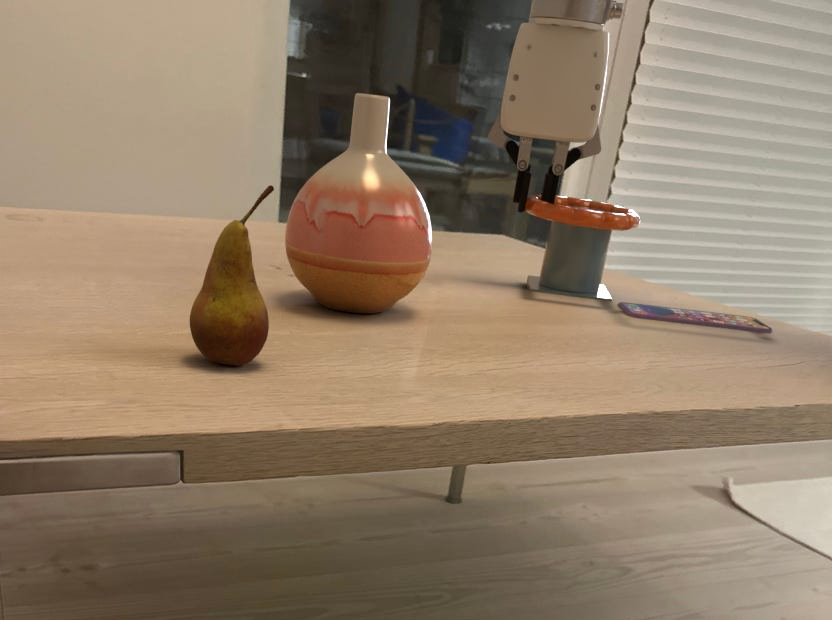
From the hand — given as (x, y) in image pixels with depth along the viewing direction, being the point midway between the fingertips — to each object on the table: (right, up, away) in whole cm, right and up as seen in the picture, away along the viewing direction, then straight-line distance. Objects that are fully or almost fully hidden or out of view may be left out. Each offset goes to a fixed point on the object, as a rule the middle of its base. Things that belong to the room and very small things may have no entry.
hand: (531, 211), depth 101 cm
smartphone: (+16, -14, -4) cm, 22 cm away
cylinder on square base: (+5, -8, +4) cm, 10 cm away
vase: (-20, -15, -13) cm, 28 cm away
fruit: (-29, -27, -33) cm, 52 cm away
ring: (+5, 0, -1) cm, 5 cm away
